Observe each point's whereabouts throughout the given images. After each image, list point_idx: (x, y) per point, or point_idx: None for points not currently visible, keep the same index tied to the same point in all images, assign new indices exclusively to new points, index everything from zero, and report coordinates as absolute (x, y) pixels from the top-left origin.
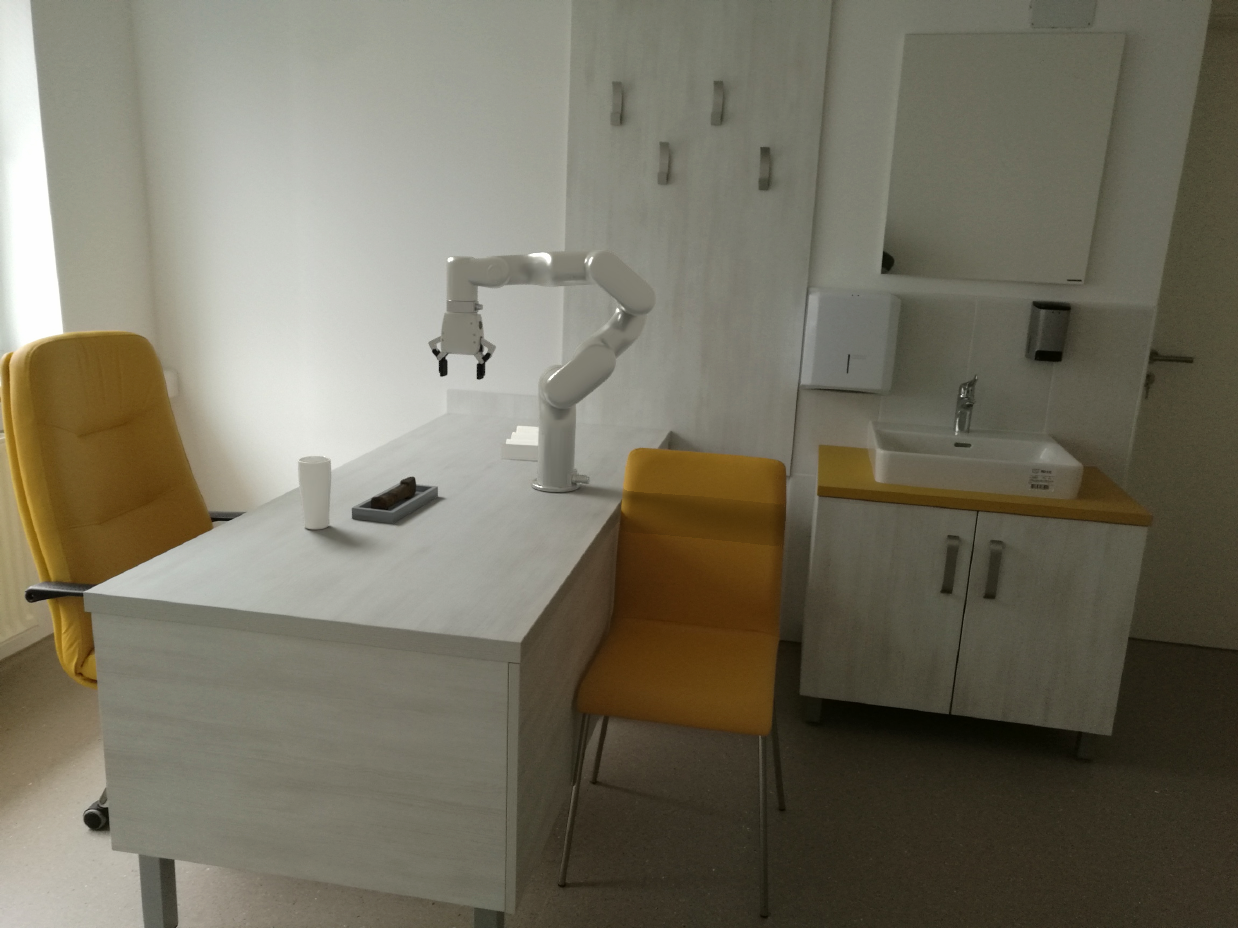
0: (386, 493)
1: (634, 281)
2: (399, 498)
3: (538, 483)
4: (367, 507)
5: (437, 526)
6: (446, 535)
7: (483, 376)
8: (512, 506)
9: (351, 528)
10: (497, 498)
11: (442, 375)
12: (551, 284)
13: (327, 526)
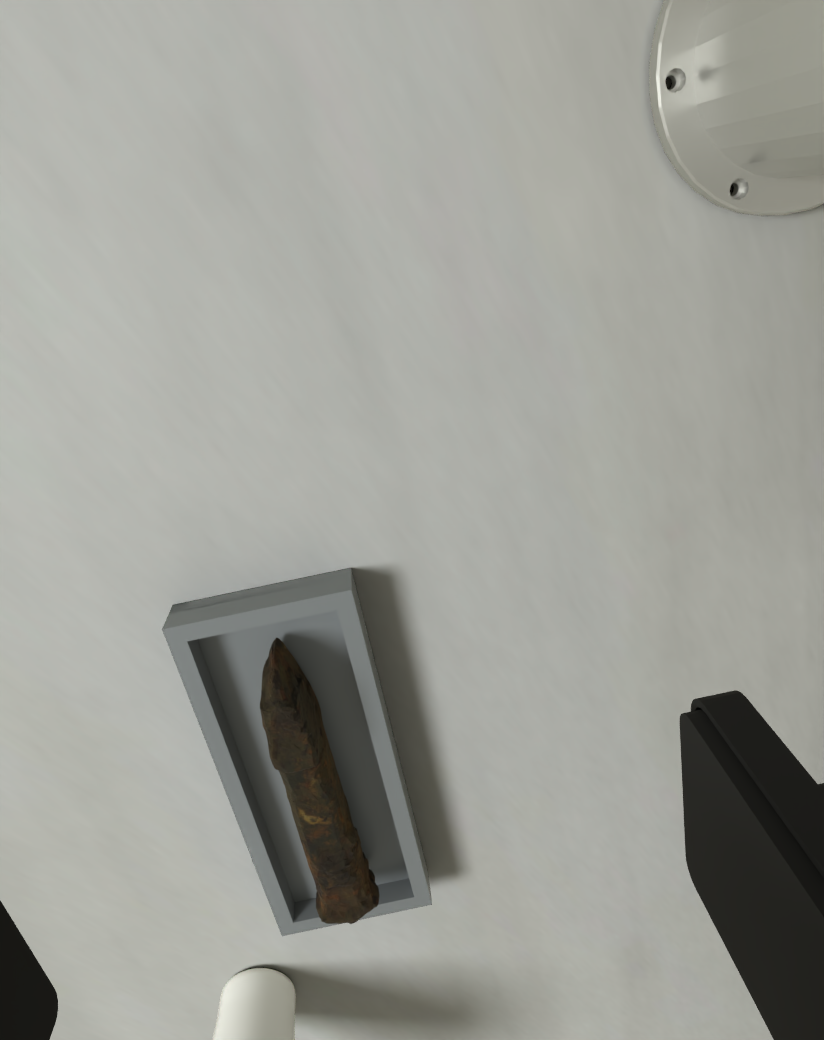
0: (336, 879)
1: None
2: (345, 801)
3: (719, 152)
4: (277, 858)
5: (566, 824)
6: (634, 864)
7: (750, 717)
8: (703, 516)
9: (353, 952)
10: (595, 450)
11: (50, 1022)
12: None
13: (292, 983)
